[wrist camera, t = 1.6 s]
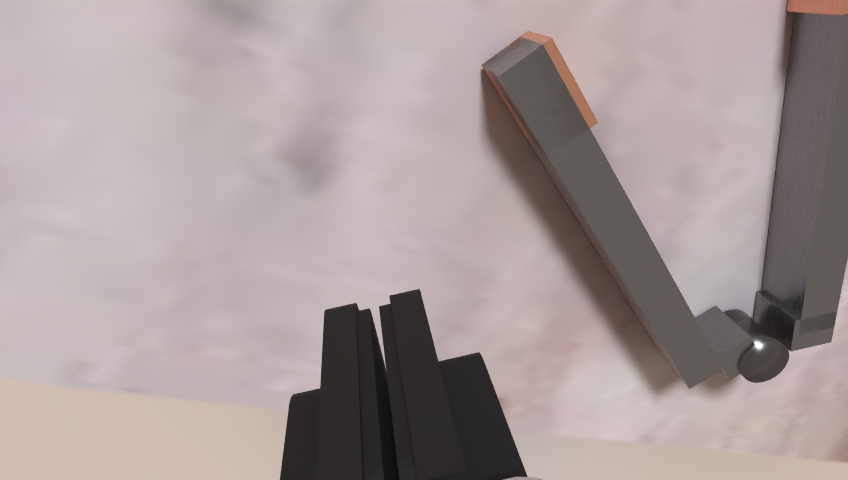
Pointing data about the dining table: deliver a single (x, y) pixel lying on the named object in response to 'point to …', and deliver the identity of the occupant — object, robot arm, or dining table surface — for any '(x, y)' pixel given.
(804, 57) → the arm
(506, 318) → the dining table surface
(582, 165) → the tongs free arm
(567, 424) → the dining table surface
